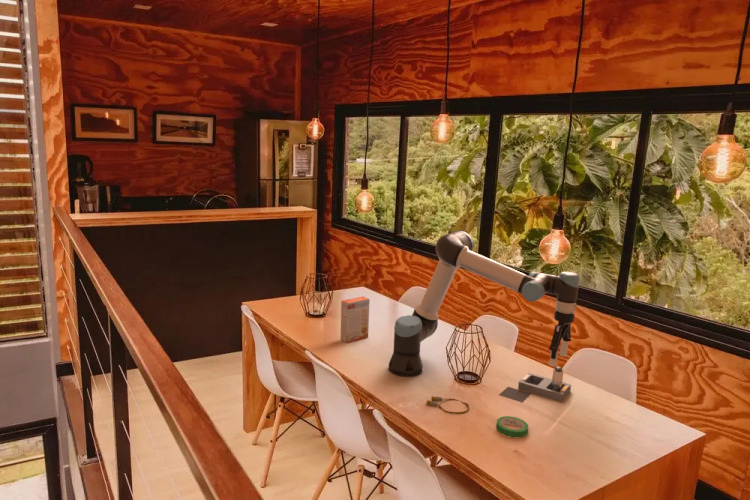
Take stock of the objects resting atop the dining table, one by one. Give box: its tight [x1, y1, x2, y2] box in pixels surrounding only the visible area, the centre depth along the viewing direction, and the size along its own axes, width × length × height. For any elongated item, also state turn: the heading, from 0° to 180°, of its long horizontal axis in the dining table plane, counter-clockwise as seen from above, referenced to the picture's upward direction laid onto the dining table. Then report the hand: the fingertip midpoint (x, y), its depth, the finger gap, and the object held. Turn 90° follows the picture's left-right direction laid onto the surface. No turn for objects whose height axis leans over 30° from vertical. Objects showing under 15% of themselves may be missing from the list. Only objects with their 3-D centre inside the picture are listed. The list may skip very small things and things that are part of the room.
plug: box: [551, 365, 564, 392], centre depth 226 cm, size 4×4×11 cm
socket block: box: [517, 372, 572, 403], centre depth 230 cm, size 12×18×4 cm, turn 55°
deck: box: [498, 386, 532, 403], centre depth 225 cm, size 10×10×1 cm
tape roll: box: [495, 415, 529, 438], centre depth 199 cm, size 11×11×3 cm
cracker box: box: [340, 296, 370, 344], centre depth 278 cm, size 14×6×21 cm, turn 130°
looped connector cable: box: [426, 395, 470, 415], centre depth 215 cm, size 12×16×2 cm
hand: (557, 360), depth 225 cm, fingers open, 13 cm apart
